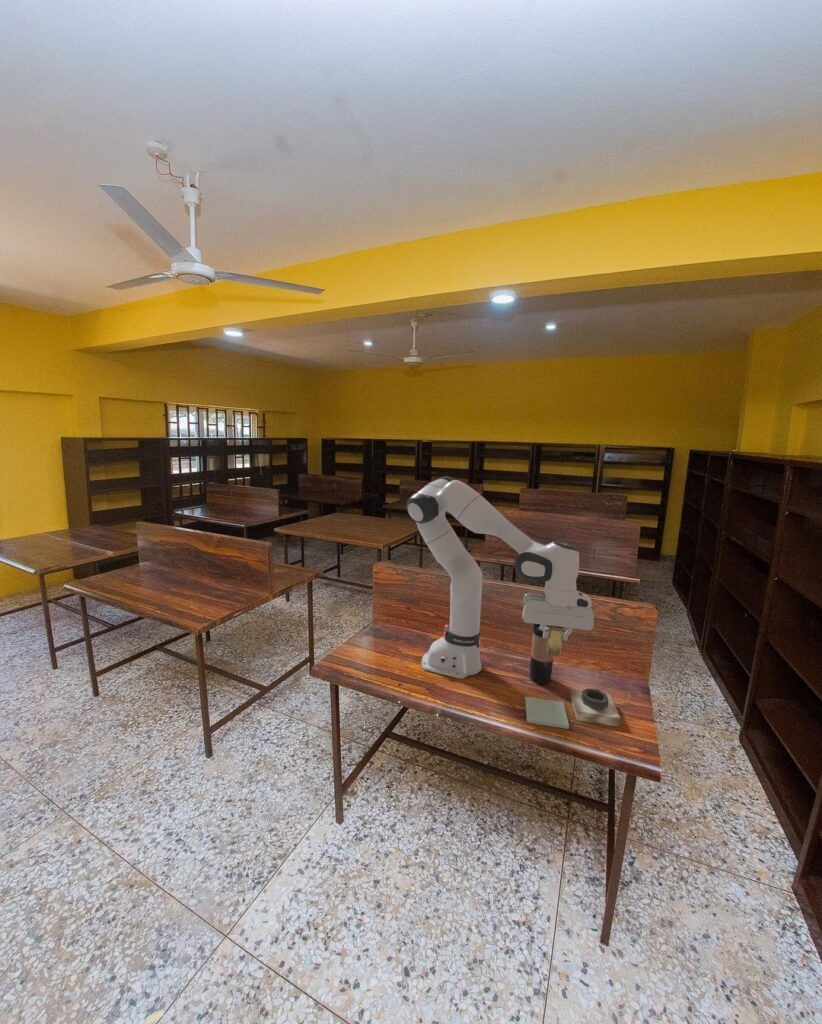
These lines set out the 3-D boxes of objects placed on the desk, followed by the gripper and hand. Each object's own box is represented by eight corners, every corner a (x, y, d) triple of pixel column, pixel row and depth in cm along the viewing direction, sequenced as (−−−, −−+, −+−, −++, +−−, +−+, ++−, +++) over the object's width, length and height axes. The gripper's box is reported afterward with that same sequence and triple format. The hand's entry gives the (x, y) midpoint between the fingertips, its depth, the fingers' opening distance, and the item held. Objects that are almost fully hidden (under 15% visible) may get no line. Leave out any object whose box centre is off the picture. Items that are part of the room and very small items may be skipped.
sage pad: (526, 722, 126) (527, 719, 126) (524, 699, 137) (525, 696, 137) (568, 729, 123) (569, 726, 123) (563, 705, 135) (563, 702, 135)
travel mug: (550, 675, 152) (554, 623, 149) (552, 686, 145) (557, 632, 142) (528, 672, 154) (532, 621, 151) (529, 683, 147) (533, 629, 144)
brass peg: (547, 655, 126) (550, 627, 125) (545, 649, 130) (548, 621, 129) (561, 657, 125) (564, 629, 124) (559, 650, 129) (562, 623, 128)
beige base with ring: (576, 720, 127) (578, 703, 127) (570, 697, 139) (572, 682, 138) (619, 726, 125) (621, 709, 124) (609, 703, 137) (610, 687, 136)
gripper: (524, 595, 124) (520, 638, 126) (597, 603, 120) (592, 648, 122) (523, 588, 130) (519, 630, 132) (592, 595, 126) (587, 638, 128)
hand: (554, 638), depth 127 cm, fingers closed on brass peg, 4 cm apart
